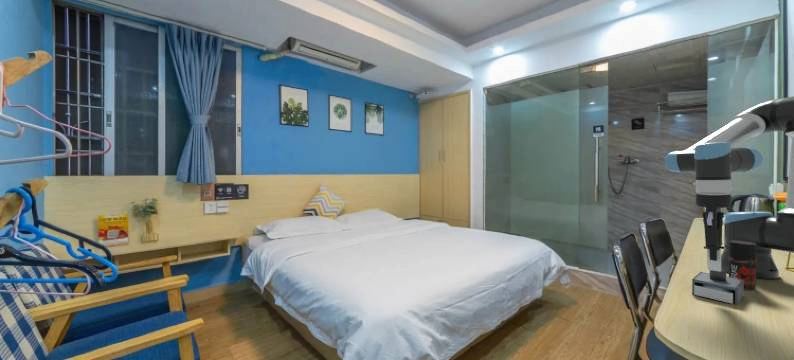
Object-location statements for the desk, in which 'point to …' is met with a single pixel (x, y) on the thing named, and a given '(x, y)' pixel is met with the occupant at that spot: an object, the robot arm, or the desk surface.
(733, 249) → the deodorant
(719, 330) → the desk surface
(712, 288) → the pale blue flat dome
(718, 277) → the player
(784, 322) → the desk surface
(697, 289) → the tray
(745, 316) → the desk surface
